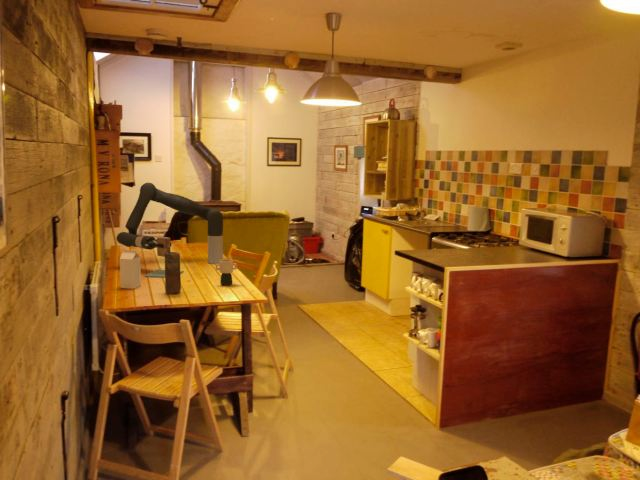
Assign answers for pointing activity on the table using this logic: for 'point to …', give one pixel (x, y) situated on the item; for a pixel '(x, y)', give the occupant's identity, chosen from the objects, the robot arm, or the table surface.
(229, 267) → the character mug
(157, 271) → the slate-blue mat
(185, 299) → the table surface
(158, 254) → the walnut block
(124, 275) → the milk carton
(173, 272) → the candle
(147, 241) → the robot arm
